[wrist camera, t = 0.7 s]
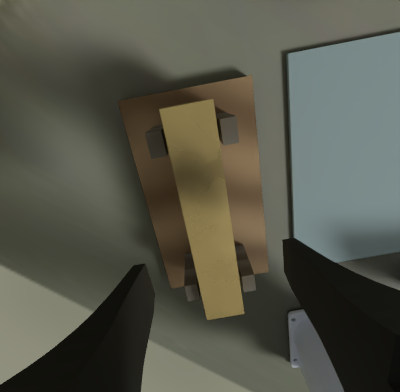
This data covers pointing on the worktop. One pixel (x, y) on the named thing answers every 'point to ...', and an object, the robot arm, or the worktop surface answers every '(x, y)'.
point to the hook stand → (233, 171)
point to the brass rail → (204, 203)
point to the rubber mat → (346, 147)
